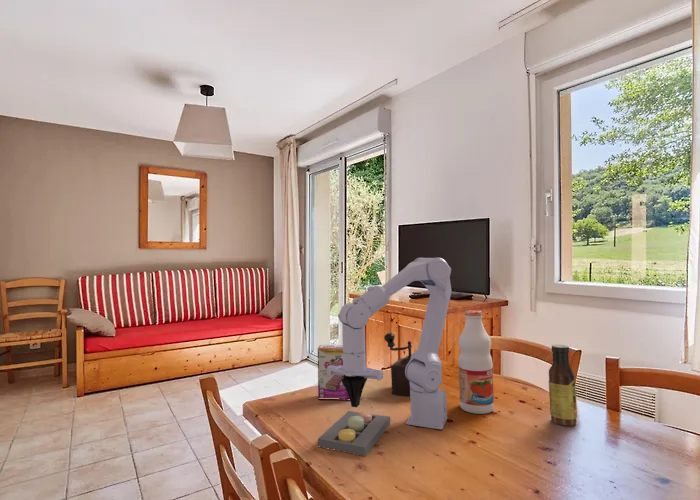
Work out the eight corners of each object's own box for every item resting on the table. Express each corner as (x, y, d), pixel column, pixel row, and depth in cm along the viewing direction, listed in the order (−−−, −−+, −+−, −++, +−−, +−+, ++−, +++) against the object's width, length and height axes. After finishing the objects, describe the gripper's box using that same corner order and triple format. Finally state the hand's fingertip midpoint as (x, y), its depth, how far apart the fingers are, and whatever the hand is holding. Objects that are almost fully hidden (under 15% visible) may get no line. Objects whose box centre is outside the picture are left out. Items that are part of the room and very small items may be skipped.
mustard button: (358, 440, 96) (357, 430, 96) (351, 447, 93) (351, 437, 93) (343, 437, 98) (342, 427, 98) (335, 444, 94) (335, 434, 94)
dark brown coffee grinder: (431, 387, 134) (429, 334, 135) (422, 398, 124) (421, 340, 125) (387, 382, 141) (386, 331, 141) (376, 392, 131) (374, 337, 131)
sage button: (366, 426, 102) (366, 417, 102) (360, 433, 98) (360, 423, 98) (352, 424, 103) (351, 415, 103) (345, 430, 100) (345, 421, 100)
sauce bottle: (581, 428, 101) (578, 349, 101) (554, 426, 102) (551, 348, 103) (572, 417, 108) (569, 343, 108) (547, 416, 109) (544, 343, 109)
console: (390, 424, 106) (390, 416, 106) (365, 456, 90) (365, 447, 90) (349, 418, 111) (348, 410, 111) (318, 447, 95) (318, 438, 95)
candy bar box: (318, 400, 125) (316, 348, 125) (320, 395, 130) (319, 344, 130) (353, 401, 124) (352, 347, 124) (355, 395, 129) (353, 344, 129)
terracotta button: (374, 422, 107) (374, 412, 107) (368, 428, 103) (368, 418, 103) (360, 419, 108) (360, 411, 108) (354, 425, 105) (354, 416, 105)
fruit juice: (475, 400, 122) (472, 308, 123) (501, 409, 114) (497, 311, 115) (453, 406, 117) (449, 311, 118) (478, 417, 109) (475, 314, 110)
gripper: (321, 353, 100) (322, 407, 100) (375, 357, 94) (377, 415, 94) (333, 346, 107) (334, 398, 106) (385, 350, 101) (386, 405, 101)
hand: (355, 405), depth 101 cm, fingers closed
